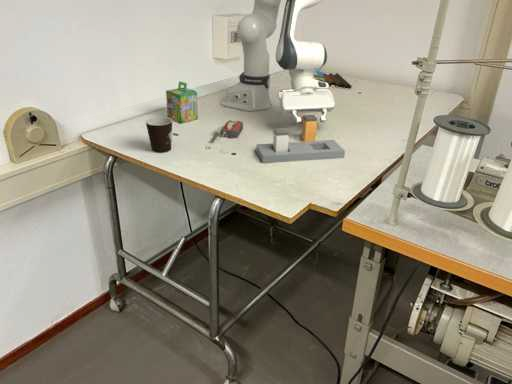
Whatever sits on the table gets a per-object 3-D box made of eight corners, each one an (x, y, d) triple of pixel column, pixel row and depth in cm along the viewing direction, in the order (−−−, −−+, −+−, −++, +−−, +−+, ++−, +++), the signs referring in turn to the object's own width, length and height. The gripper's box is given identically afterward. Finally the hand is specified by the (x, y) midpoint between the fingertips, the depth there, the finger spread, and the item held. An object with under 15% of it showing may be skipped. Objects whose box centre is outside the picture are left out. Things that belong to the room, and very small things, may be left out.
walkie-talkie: (222, 126, 163) (209, 144, 146) (222, 115, 161) (208, 133, 144) (244, 128, 162) (233, 146, 145) (244, 117, 160) (233, 135, 143)
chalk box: (167, 118, 168) (164, 82, 161) (184, 113, 174) (182, 78, 167) (181, 124, 163) (178, 86, 156) (198, 119, 169) (197, 82, 162)
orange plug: (304, 142, 149) (306, 118, 145) (301, 138, 152) (303, 115, 148) (314, 142, 150) (317, 118, 146) (311, 138, 153) (313, 114, 149)
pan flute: (351, 90, 219) (339, 78, 241) (352, 83, 217) (340, 72, 239) (304, 89, 217) (297, 78, 239) (305, 83, 215) (297, 72, 237)
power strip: (262, 163, 132) (263, 156, 131) (256, 151, 141) (256, 144, 140) (344, 157, 138) (345, 150, 137) (332, 146, 147) (333, 139, 145)
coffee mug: (162, 156, 135) (159, 127, 130) (143, 150, 139) (139, 121, 134) (185, 145, 144) (183, 117, 139) (167, 140, 148) (164, 113, 143)
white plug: (275, 158, 136) (276, 132, 132) (272, 153, 139) (273, 128, 135) (287, 157, 137) (288, 132, 132) (283, 153, 140) (285, 128, 136)
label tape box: (324, 95, 206) (327, 70, 200) (321, 97, 203) (323, 72, 197) (308, 92, 210) (310, 68, 204) (305, 94, 207) (307, 69, 201)
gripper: (279, 85, 148) (285, 119, 144) (332, 83, 152) (339, 116, 148) (275, 94, 154) (281, 127, 150) (326, 91, 158) (333, 124, 154)
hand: (310, 122), depth 149 cm, fingers open, 8 cm apart
